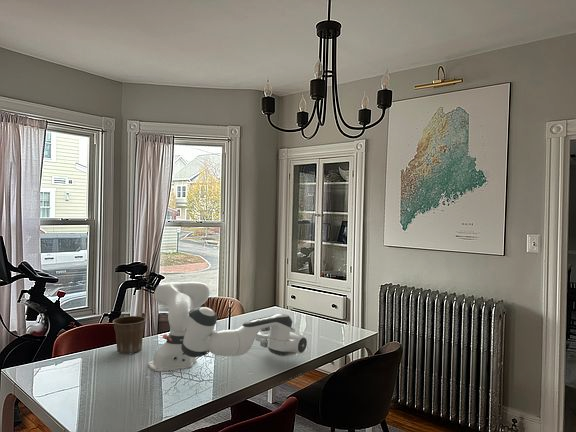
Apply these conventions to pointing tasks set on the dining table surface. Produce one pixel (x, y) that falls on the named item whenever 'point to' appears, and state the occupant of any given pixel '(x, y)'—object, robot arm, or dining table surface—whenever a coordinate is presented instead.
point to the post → (262, 342)
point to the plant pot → (129, 333)
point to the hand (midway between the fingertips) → (265, 331)
